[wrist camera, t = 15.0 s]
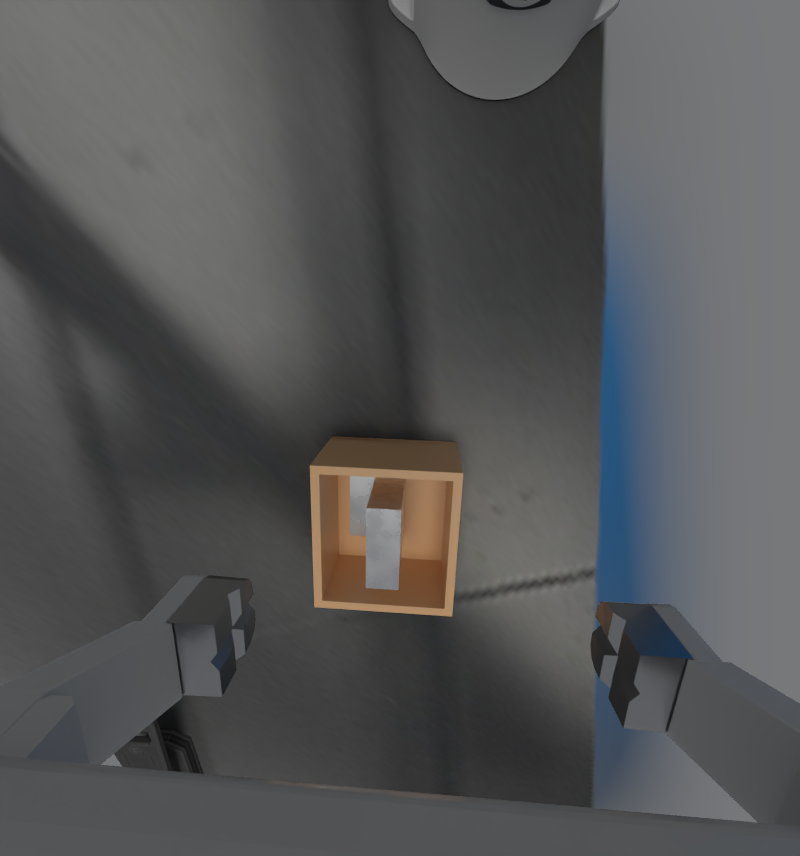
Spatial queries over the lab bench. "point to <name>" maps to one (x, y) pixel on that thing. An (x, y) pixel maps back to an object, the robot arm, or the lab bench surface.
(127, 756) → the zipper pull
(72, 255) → the lab bench surface
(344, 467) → the open box
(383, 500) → the aluminium bracket
